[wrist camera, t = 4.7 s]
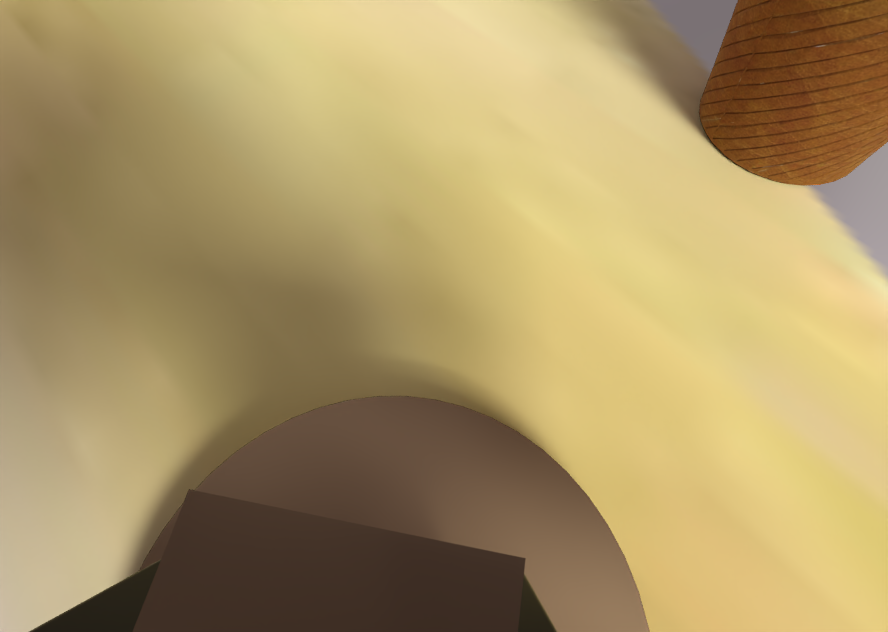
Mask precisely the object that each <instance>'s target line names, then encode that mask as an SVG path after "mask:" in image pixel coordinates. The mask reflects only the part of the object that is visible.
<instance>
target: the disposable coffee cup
mask: <svg viewBox="0 0 888 632" xmlns="http://www.w3.org/2000/svg"><path fill="white" fill-rule="evenodd" d="M699 114H700V120H701V123H702V125H703V128H704V130H705V132H706V134H707V135H708V137H709V139H710V140H711V142H712V143H713V144H714V145H715V146H716V147H717V148H718V149H719V150H720V151H721V152H722V153H723V154H724V155H725V156H727V157H728V158H729V159H731V160H732V161H733V162H735V163H736V164H738V165H739V166H741V167H743V168H745V169H747V170H748V171H750V172H752V173H754V174H757V175H760V176H762V177H765V178H768V179H771V180H774V181H778V182H782V183H786V184H795V185H821V184H825V183H829V182H834V181H836V180H838V179H840V178H843V177H845V176H847V175H848V174H849V173H850V172H852V171H853V170H854V169H855V168H856V167H857V166H859V165H860V164H861V163H862V162H863V161H865V160H866V159H867V158H868V157H869V156H871V155H872V154H873V153H874V152H875V151H877V150H878V149H879V148H880V147H882V146H883V145H884V144H886V143H887V142H888V0H738V3H737V4H736V7H735V10H734V13H733V16H732V18H731V20H730V23H729V26H728V29H727V32H726V35H725V37H724V39H723V42H722V45H721V48H720V51H719V53H718V56H717V58H716V61H715V64H714V67H713V69H712V72H711V74H710V77H709V80H708V82H707V85H706V88H705V90H704V93H703V95H702V98H701V101H700V110H699Z"/></svg>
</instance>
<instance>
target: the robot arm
mask: <svg viewBox="0 0 888 632" xmlns="http://www.w3.org/2000/svg"><path fill="white" fill-rule="evenodd" d="M160 561H161V559H160V560H159V561H157V562H155V563H153V564H151V565H150V566H148V567H146V568H144V569H142V570H140V571H139V572H137V573H135V574H133V575H131V576H130V577H128V578H126V579H124V580H122V581H120V582H119V583H117V584H115V585H113V586H111V587H110V588H108V589H106V590H104V591H102V592H100V593H99V594H97V595H95V596H93V597H91V598H90V599H88V600H86V601H84V602H82V603H80V604H79V605H77V606H75V607H73V608H71V609H70V610H68V611H66V612H64V613H62V614H60V615H59V616H57V617H55V618H53V619H51V620H50V621H48V622H46V623H44V624H42V625H40V626H39V627H37V628H35V629H33V630H31V631H30V632H133V629H134V627H135V624H136V622H137V619H138V616H139V614H140V611H141V609H142V606H143V604H144V601H145V599H146V596H147V594H148V591H149V589H150V586H151V584H152V581H153V579H154V576H155V574H156V571H157V569H158V566H159V564H160ZM518 632H557V630H556V629H555V627H554V625H553V623H552V622H551V620H550V618H549V616H548V614H547V613H546V611H545V609H544V607H543V606H542V604H541V602H540V600H539V599H538V597H537V595H536V593H535V592H534V590H533V588H532V586H531V585H530V583H529V581H528V579H527V577H526V576H525V574H524V578H523V588H522V597H521V606H520V616H519V625H518Z"/></svg>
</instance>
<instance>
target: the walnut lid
mask: <svg viewBox="0 0 888 632" xmlns="http://www.w3.org/2000/svg"><path fill="white" fill-rule="evenodd" d="M160 559H161V561H160V564H159V566H158V569H157V571H156V574H155V576H154V579H153V581H152V584H151V586H150V589H149V591H148V594H147V596H146V599H145V601H144V604H143V606H142V609H141V611H140V614H139V616H138V619H137V622H136V624H135V627H134V629H133V632H518V625H519V616H520V606H521V597H522V588H523V578H524V574H525V576H526V577H527V579H528V581H529V583H530V585H531V586H532V588H533V590H534V592H535V593H536V595H537V597H538V599H539V600H540V602H541V604H542V606H543V607H544V609H545V611H546V613H547V614H548V616H549V618H550V620H551V622H552V623H553V625H554V627H555V629H556V630H557V632H650V631H649V627H648V623H647V620H646V616H645V613H644V609H643V605H642V602H641V598H640V594H639V591H638V589H637V586H636V584H635V581H634V579H633V576H632V574H631V571H630V569H629V566H628V564H627V561H626V558H625V556H624V554H623V552H622V551H621V549H620V547H619V545H618V543H617V541H616V539H615V537H614V535H613V534H612V532H611V530H610V528H609V526H608V524H607V523H606V521H605V520H604V519H603V517H602V516H601V514H600V513H599V511H598V510H597V508H596V507H595V505H594V504H593V502H592V501H591V500H590V498H589V497H588V495H587V494H586V493H585V492H584V491H583V490H582V489H581V487H580V486H579V485H578V484H577V483H576V482H575V480H574V479H573V478H572V477H571V476H570V475H569V474H568V472H567V471H566V470H565V469H563V468H562V467H561V466H560V465H559V464H558V463H557V462H556V461H555V460H554V459H552V458H551V457H550V456H549V455H548V454H547V453H546V452H545V451H544V450H542V449H541V448H540V447H538V446H537V445H535V444H534V443H533V442H531V441H530V440H528V439H527V438H526V437H524V436H523V435H521V434H520V433H519V432H517V431H515V430H513V429H511V428H510V427H508V426H506V425H504V424H502V423H500V422H498V421H497V420H495V419H493V418H491V417H488V416H486V415H483V414H481V413H478V412H476V411H473V410H470V409H468V408H465V407H462V406H458V405H454V404H450V403H446V402H442V401H438V400H433V399H425V398H417V397H409V396H378V397H370V398H362V399H353V400H347V401H343V402H340V403H336V404H332V405H328V406H324V407H320V408H317V409H315V410H312V411H309V412H307V413H304V414H302V415H299V416H296V417H294V418H291V419H289V420H287V421H286V422H284V423H282V424H280V425H278V426H276V427H274V428H272V429H270V430H268V431H266V432H264V433H263V434H261V435H260V436H258V437H257V438H255V439H254V440H252V441H251V442H249V443H248V444H246V445H245V446H244V447H242V448H241V449H239V450H238V451H236V452H235V453H234V454H233V455H232V456H230V457H229V458H228V459H227V460H226V461H224V462H223V463H222V464H221V465H220V466H219V467H217V468H216V469H215V470H214V471H213V472H212V473H210V475H209V476H208V477H207V478H206V479H205V480H204V481H203V482H202V483H201V484H200V485H199V486H198V487H197V488H196V489H195V490H190V489H189V491H188V493H187V496H186V498H185V501H184V503H183V504H182V505H181V507H180V508H179V509H178V511H177V512H176V513H175V514H174V516H173V517H172V518H171V520H170V521H169V522H168V524H167V525H166V526H165V528H164V529H163V531H162V532H161V534H160V536H159V537H158V539H157V541H156V542H155V544H154V545H153V547H152V549H151V550H150V552H149V554H148V555H147V557H146V559H145V560H144V562H143V564H142V566H141V568H140V570H142V569H144V568H146V567H148V566H150V565H151V564H153V563H155V562H157V561H159V560H160ZM140 570H139V571H140Z"/></svg>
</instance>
